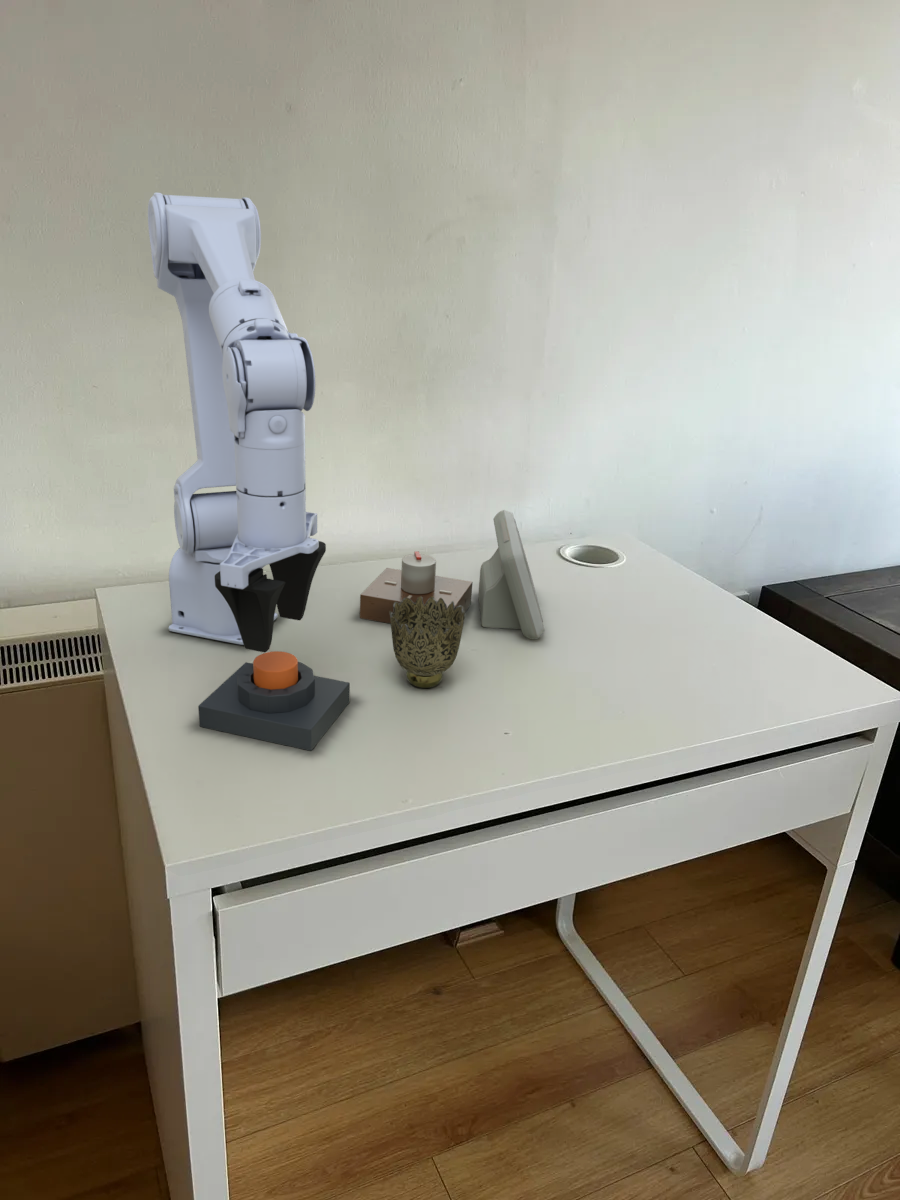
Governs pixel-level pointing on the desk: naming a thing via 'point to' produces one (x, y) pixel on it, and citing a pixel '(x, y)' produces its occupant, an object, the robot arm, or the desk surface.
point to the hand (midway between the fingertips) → (274, 632)
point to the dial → (418, 573)
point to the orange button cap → (275, 670)
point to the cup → (426, 638)
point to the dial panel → (408, 594)
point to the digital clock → (509, 584)
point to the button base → (276, 708)
